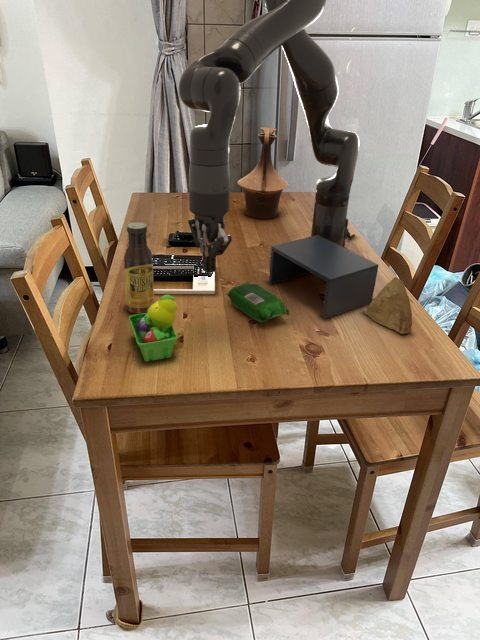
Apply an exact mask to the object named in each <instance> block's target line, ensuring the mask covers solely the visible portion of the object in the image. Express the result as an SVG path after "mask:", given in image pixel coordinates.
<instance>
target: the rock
mask: <svg viewBox="0 0 480 640" xmlns="http://www.w3.org/2000/svg"><path fill="white" fill-rule="evenodd" d="M410 302H411V301H410V297H409V295H408V292H407V289H406V286H405V283H404V281H403V280H402V279H400V278H399V277H395V276H394V277H393V278H392V279H391V280H390V281H389V282H387V284H386V285H385V286H384V287H382V289H381V290H380V291H379V292H378V294H377V295H376V296H375V297H374V298H372V302H371V303H369V305H368V306H367V307H366V310H365V311H364V315H366V316H367V317H369V318H370V319H371V320H372V321H373V322H375V323H377V324H379V325H381V326H384V327H386V328H388V329H390V330H394V331H395V332H397V333H399V334H401V335H405V334H410V333H411V330H412V327H413V317H412V316H413V314H412V313H413V312H412V307H411V303H410Z"/></svg>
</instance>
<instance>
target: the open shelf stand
mask: <svg viewBox="0 0 480 640" xmlns="http://www.w3.org/2000/svg"><path fill="white" fill-rule="evenodd" d="M270 249H271V250H270V261H269V275H268V276H269V277H268V283H269V284H270V285H274V284H278V283H280V282H285V281H287V280H291V279H294V278H297V277H300V276H301V277H302V276H304V275H308V274H312V275H313V276H316V277H318V278H320V279H322V281H324V282H326V283H325V284H326V285H325V292H324V301H323V308H322V316H321V317H322V318H323V319H324V320H327V319H329V318H332V317H335V316H338V315H341V314H343V313H346V312H349V311H351V310H355V309H357V308H360V307H363V306H366V305H368V304H369V305H370V303H371V302H372V300H373V299H374V298H373V297H374V292H375V286H376V281H377V276H378V270H379V263H377V262H374V261H372V260H370V259H368V258H366V257H364V256H362V255H360V254H358V253H356V252H354V251H352V250H350V249H348V248H346V247H341V246H339V245H337V244H335V243H333V242H331V241H329V240H327V239H325V238H323V237H321V236H319V235H315V236H311V235H310V236H308V237H304V238H299V239H295V240H291V241H287V242H283V243H279V244H275V245H271V248H270Z"/></svg>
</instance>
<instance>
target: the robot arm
mask: <svg viewBox="0 0 480 640" xmlns="http://www.w3.org/2000/svg"><path fill="white" fill-rule="evenodd" d="M326 3H327V0H264V5H265V9H266V12H265V13H263V14H261V15H259V16H257V17H254V18H252V19H251V20H248V21H247V22H246V23H244V24H243V25H241V26H239V27H238V29H236V30H235V31H234V32H233V33H232V34H231V35H230V36H229V37H228V38H227V39H226V40H225V41H224V42H223V43H222V45H221V46H219V47H217V48H215V49H213V50H211V51H209V52H207V53H206V54H204V55H202V56H200V57H198V58H197V59H195V60H193V61H192V62H191V63H189V65H187V67H186V68H185V69H184V70H183V72H182V74H181V76H180V78H179V81H178V87H177V88H178V96H179V98H180V101H181V103H183V105H184V106H185V107H187V108H189V109H191V110H195V111H201V112H207V113H210V114H209V118H208V121H207V124H202V125H201V124H200V125H197V126H194V127H193V128H191V130H190V133H189V169H188V200H189V201H188V202H189V203H188V209H189V211H190V213H192V214H194V215H193V218H190V219H187V223H188V227H189V229H190V232H191V236H192V238H193V241H194V244H195V247H196V248H197V249H199V251H200V254H202V265H203V271H205V272H206V273H212V272H216V270H217V267H216V265H217V256H222V255H224V253H225V251H227V249H228V247H229V246H230V244H231V242H232V241H233V239H232V236H231V235H230V234H228V235H227V234H226V231H225V228H226V227H225V226H226V224H225V220H224V217H225V215H226V214H227V213H229V211H230V190H231V189H230V185H231V183H230V182H231V174H230V173H231V172H230V138H231V135H232V130H233V125H234V123H235V119H236V115H237V111H238V109H239V105H240V101H241V96H242V95H241V94H242V88H241V84H243V83H245V82H246V81H248V79H250V78H251V77H252V76H253V74H254V73H255V72H256V71H258V69H259V68H260V67H261V65H262V64H263V63H264V62H265V61H266V60H267V59H268V58H269V57H270V56H271V55H272V54H274V52H275V51H277V50H278V49H280V47H281V48H282V50H283V53H284V55H285V58H286V60H287V63H288V66H289V70H290V72H291V75H292V79H293V82H294V86H295V89H296V92H297V95H298V98H299V101H300V104H301V106H302V109H303V112H304V113H303V114H304V115H305V119H306V123H307V127H308V131H309V136H310V142H311V147H312V151H313V155H314V158H315V160H316V161H317V163H319V164H320V165H324V166H328V167H334V168H336V172H335V174H333V175H329V176H324V177H321V178H319V179H318V180H317V181H316V188H315V195H314V205H313V215H312V216H313V217H312V224H311V232H310V237H311V236H315V235H319V236H321V237H323V238H325V239H327V240H329V241H331V242H333V243H335V244H337V245H339V246H341V247H344V248H346V247H345V246H346V240H347V239H349V240H351V239H353V238H355V237H356V234H352V235H351V232H349V228H348V226H349V218H348V217H347V215H348V208H349V202H350V196H351V195H350V194H351V189H352V185H353V182H354V177H355V172H356V166H357V161H358V158H359V157H358V156H359V151H360V137H359V135H358V134H357V132H354V131H349V130H344V129H336V128H333V127H332V126H331V124H330V123H329V115H330V113H331V112H332V110H333V108H334V106H335V104H336V102H337V101H338V100H337V99H338V97H339V92H340V91H339V83H338V77H337V73H336V71H335V66H334V64H333V62H332V59H330V57H329V56H328V54H327V53H326V52H325V51H324V50H323V48H322V47H321V46H320V45H319V44H318V43H317V42H316V41H315V40H314V39H313V38H312V37H311V36H310V35H309V33H308V32H307V31H306V28H307V27H309V26H310V25H312V24H313V23H314V22H316V21H317V20H318V19H319V18H320V16H321V15H322V13H323V11H324V10H325V7H326Z"/></svg>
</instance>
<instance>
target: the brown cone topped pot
mask: <svg viewBox="0 0 480 640" xmlns="http://www.w3.org/2000/svg"><path fill="white" fill-rule="evenodd" d="M260 130H261V131H262V133H258V135H257V137H258V139H259V142H260V144H261V150H260V156H259V160H258V163H257V164H256V166H255V167H254V168H253V170H252V171H250V172H249V173H248V174H247V175H245V176H243V177H242V178H240V179H239V180H238V181H237V185H238V186H239V187H241V188H242V189H243V192H244V200H245V214H246V215H247V216H248V217H252V218H257V219H270V218H275V217H276V216H278V209H279V204H280V200H281V196H282V194H283V191H284V190H286V189H287V188H289V186H290V185H289V182H288V181H286V180H285V179H284V178H283V177H282V176H280V174H279V173H278V172H277V170H276V169H275V166H274V164H273V161H272V145H273V143H274V142H275V140H276V139H277V135H276V134H275V132H276V131H277V128H275V127H274V128H273V127H265V126H264V127H262V126H261V127H260Z"/></svg>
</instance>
